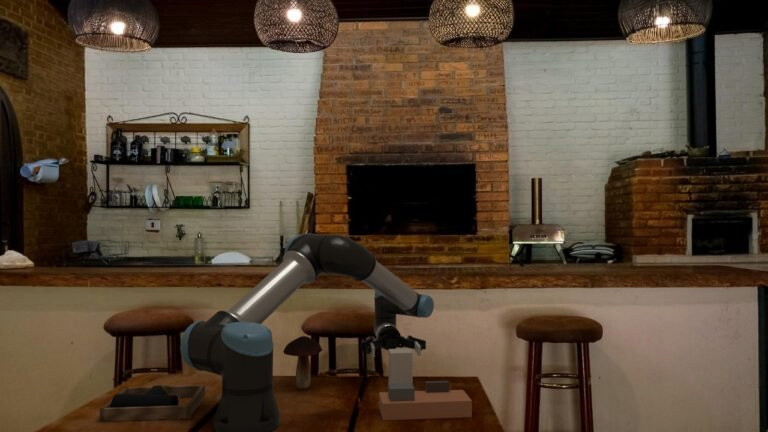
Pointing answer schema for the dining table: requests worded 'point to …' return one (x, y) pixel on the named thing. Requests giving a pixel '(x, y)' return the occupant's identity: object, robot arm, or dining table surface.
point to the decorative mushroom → (303, 358)
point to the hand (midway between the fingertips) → (396, 351)
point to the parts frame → (155, 411)
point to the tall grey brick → (400, 366)
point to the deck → (423, 402)
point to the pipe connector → (146, 398)
